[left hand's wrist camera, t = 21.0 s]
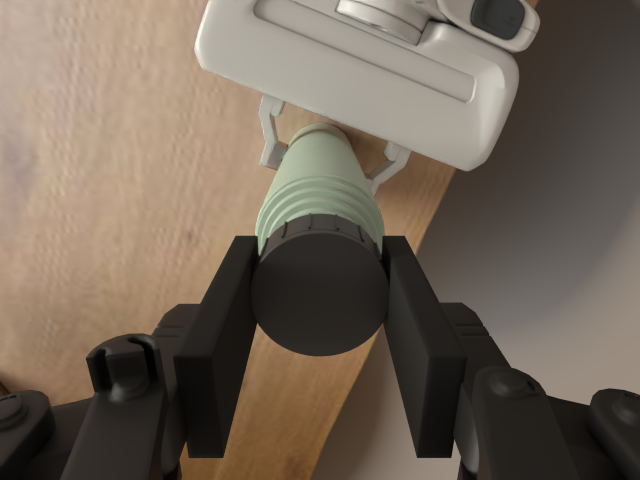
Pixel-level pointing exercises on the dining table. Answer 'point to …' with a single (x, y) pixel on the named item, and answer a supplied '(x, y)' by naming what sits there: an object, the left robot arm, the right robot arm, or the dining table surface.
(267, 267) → the cap
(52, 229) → the dining table surface
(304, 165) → the bottle
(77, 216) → the dining table surface
